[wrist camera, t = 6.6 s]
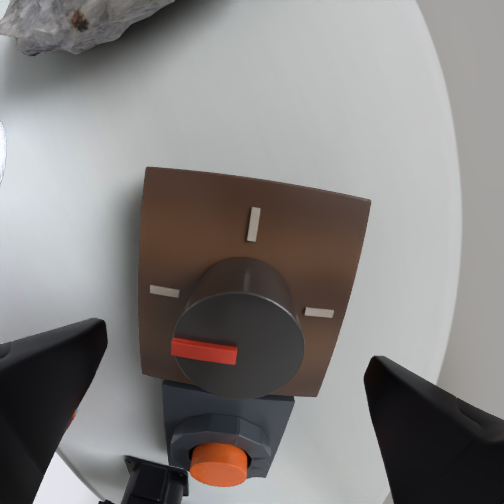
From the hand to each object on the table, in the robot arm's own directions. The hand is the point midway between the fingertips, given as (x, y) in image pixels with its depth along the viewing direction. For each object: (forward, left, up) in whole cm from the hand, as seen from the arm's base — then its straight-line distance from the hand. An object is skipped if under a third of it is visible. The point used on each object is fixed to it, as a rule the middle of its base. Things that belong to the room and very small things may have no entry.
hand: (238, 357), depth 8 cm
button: (-12, 0, -4) cm, 12 cm away
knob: (0, 0, -4) cm, 4 cm away
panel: (0, 0, -8) cm, 8 cm away
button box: (-12, 0, -8) cm, 14 cm away
